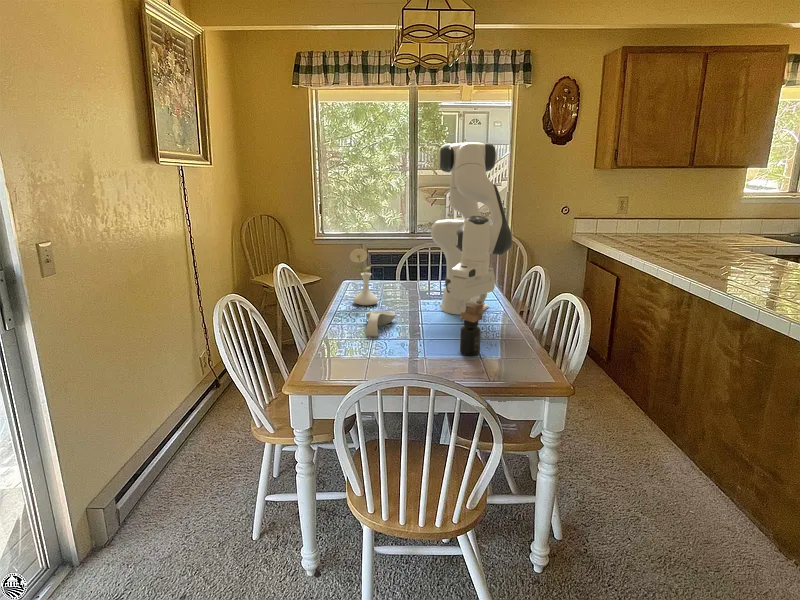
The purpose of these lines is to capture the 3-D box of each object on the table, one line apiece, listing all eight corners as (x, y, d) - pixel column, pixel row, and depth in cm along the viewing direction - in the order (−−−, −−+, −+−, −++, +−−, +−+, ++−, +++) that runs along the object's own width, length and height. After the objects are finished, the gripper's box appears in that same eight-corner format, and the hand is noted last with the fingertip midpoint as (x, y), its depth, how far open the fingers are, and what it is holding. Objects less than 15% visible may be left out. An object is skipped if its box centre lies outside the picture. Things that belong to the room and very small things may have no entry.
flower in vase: (380, 301, 231) (380, 246, 224) (376, 307, 220) (377, 251, 213) (352, 299, 232) (351, 245, 226) (347, 306, 221) (346, 250, 215)
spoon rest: (369, 317, 207) (369, 300, 205) (397, 319, 206) (397, 302, 204) (356, 336, 185) (356, 317, 183) (388, 338, 183) (388, 319, 181)
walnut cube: (469, 316, 170) (470, 301, 169) (482, 319, 167) (483, 304, 165) (460, 319, 167) (461, 304, 165) (473, 322, 163) (474, 307, 162)
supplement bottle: (476, 349, 174) (478, 315, 171) (482, 356, 167) (484, 321, 164) (456, 350, 173) (458, 316, 169) (462, 357, 166) (464, 322, 163)
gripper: (485, 262, 171) (482, 301, 175) (447, 270, 157) (445, 313, 161) (500, 264, 167) (497, 305, 171) (463, 273, 153) (461, 317, 157)
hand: (472, 309), depth 166 cm, fingers open, 8 cm apart
